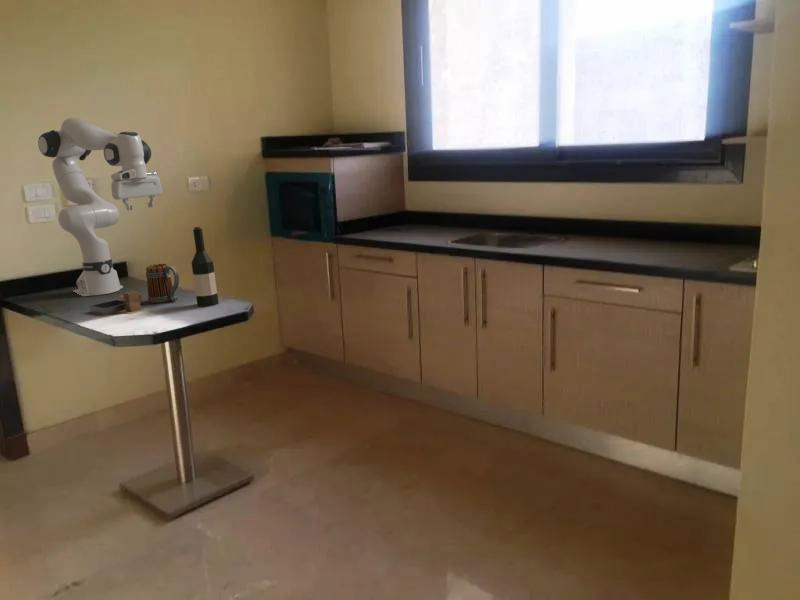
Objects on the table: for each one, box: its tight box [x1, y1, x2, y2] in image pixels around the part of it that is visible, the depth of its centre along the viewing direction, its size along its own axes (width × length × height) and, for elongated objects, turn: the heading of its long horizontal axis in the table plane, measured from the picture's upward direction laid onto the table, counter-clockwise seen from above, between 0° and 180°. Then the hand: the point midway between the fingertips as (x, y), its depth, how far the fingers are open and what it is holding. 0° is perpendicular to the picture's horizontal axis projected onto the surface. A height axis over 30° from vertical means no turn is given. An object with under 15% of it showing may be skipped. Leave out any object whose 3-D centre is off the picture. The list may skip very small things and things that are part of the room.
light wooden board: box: [118, 307, 149, 315], centre depth 256 cm, size 8×8×1 cm
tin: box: [89, 299, 125, 316], centre depth 258 cm, size 11×11×3 cm
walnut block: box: [122, 290, 142, 312], centre depth 255 cm, size 4×4×7 cm
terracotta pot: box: [118, 293, 143, 304], centre depth 268 cm, size 6×6×4 cm
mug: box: [145, 263, 180, 305], centre depth 267 cm, size 16×11×15 cm
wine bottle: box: [190, 226, 219, 308], centre depth 256 cm, size 8×8×30 cm
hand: (140, 208), depth 269 cm, fingers open, 8 cm apart
